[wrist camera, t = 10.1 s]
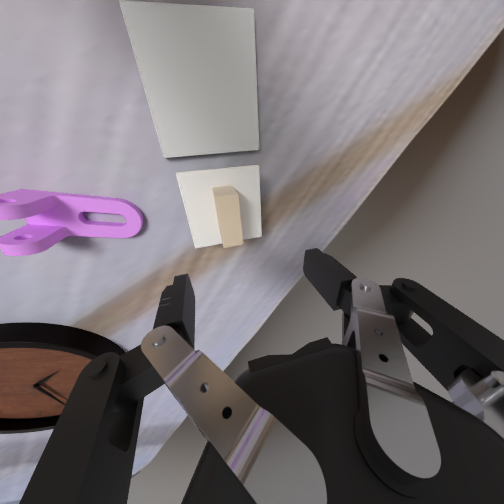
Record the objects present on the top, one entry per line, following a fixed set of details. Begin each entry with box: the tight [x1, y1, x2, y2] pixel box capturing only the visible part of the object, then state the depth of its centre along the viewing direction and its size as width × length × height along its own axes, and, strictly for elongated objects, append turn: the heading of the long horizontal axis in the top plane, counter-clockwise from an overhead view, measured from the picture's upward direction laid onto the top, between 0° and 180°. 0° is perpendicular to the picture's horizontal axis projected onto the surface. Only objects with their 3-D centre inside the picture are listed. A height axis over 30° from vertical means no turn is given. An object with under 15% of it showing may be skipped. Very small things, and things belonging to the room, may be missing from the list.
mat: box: [119, 0, 259, 158], centre depth 22 cm, size 13×13×1 cm
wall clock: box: [0, 323, 125, 434], centre depth 36 cm, size 31×4×31 cm
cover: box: [176, 165, 262, 248], centre depth 22 cm, size 10×10×6 cm
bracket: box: [0, 189, 143, 256], centre depth 23 cm, size 13×6×7 cm, turn 80°
